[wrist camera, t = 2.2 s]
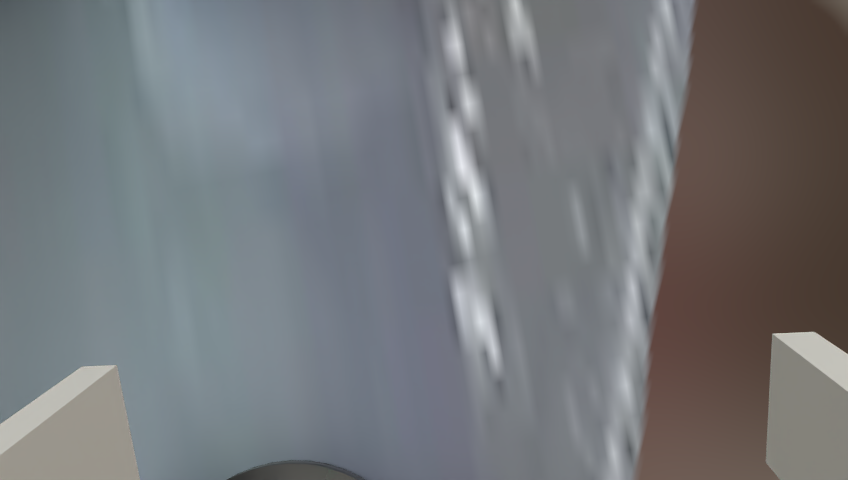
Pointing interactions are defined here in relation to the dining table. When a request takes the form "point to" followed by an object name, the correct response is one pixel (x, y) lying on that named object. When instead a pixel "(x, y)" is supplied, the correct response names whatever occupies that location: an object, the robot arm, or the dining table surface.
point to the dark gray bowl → (296, 472)
